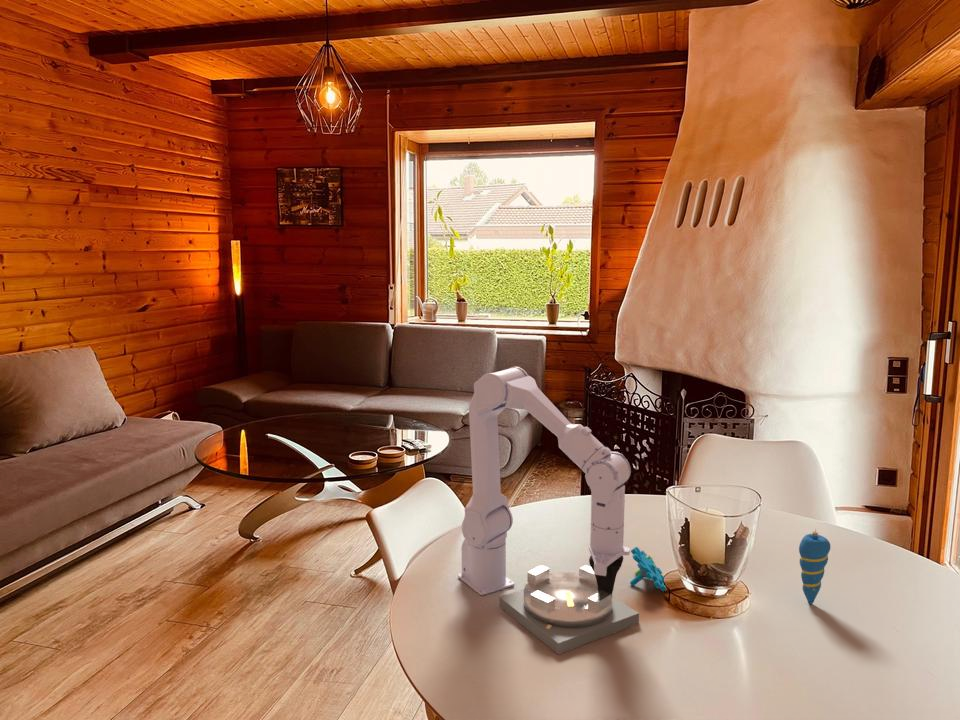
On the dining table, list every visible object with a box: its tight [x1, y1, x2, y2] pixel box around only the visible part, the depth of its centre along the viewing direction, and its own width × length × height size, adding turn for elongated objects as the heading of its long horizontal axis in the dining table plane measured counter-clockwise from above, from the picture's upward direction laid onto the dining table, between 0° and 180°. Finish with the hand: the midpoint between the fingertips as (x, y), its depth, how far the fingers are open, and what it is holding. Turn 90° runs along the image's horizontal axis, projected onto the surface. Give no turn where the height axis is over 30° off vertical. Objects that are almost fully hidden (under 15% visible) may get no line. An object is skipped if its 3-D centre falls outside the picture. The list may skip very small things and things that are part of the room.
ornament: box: [798, 528, 831, 605], centre depth 127 cm, size 5×5×15 cm
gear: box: [629, 546, 666, 593], centre depth 136 cm, size 11×6×10 cm
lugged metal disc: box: [523, 564, 613, 627], centre depth 125 cm, size 16×16×4 cm
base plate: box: [498, 588, 640, 655], centre depth 125 cm, size 18×18×2 cm
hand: (605, 595), depth 122 cm, fingers closed
